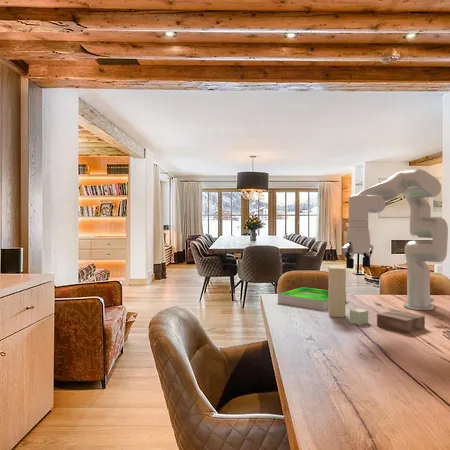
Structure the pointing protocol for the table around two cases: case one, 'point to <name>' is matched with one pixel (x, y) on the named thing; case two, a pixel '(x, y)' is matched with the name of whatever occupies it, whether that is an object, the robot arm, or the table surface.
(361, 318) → the cream cube
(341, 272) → the tall beige block
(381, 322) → the walnut block
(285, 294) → the tray
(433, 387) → the table surface
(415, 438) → the table surface
